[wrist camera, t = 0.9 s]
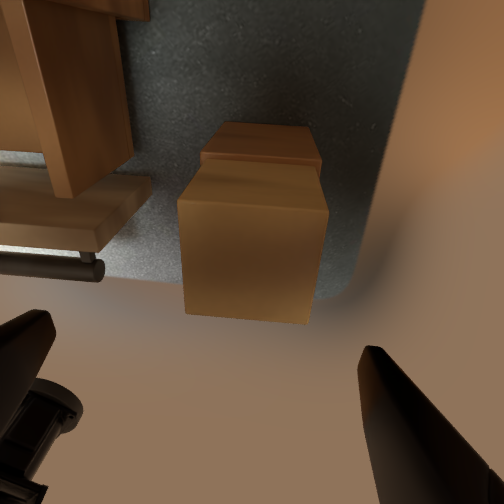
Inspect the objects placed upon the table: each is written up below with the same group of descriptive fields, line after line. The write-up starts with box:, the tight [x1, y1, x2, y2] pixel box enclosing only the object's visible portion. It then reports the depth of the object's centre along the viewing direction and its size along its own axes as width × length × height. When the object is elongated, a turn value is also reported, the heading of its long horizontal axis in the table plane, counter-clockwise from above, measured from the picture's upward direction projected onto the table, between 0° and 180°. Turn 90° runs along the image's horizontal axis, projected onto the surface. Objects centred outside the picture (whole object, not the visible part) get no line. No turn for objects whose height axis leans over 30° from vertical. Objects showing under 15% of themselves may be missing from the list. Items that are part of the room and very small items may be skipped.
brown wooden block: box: [200, 121, 322, 178], centre depth 17 cm, size 5×5×7 cm
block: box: [177, 159, 329, 325], centre depth 12 cm, size 4×4×4 cm
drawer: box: [0, 0, 152, 282], centre depth 16 cm, size 17×11×7 cm
